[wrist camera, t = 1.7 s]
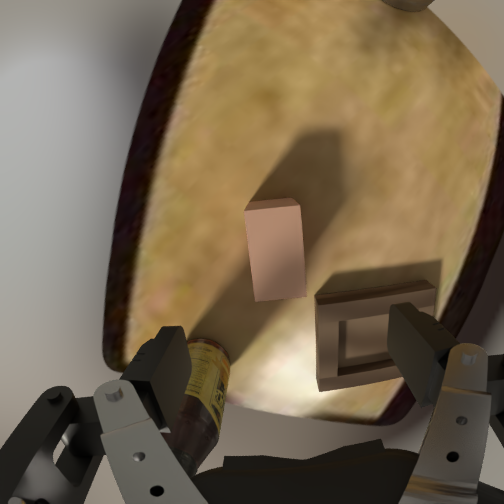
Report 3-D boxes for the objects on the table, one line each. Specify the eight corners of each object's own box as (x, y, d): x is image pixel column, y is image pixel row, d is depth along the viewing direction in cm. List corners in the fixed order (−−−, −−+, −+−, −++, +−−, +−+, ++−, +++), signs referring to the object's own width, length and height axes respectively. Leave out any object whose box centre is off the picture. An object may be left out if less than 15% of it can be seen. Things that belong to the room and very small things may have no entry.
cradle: (314, 295, 30) (318, 305, 28) (425, 279, 29) (436, 287, 27) (316, 378, 33) (319, 391, 30) (415, 360, 32) (422, 371, 30)
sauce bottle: (222, 384, 34) (193, 531, 14) (173, 366, 33) (114, 504, 14) (240, 344, 32) (217, 506, 13) (186, 324, 32) (116, 473, 12)
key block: (249, 201, 28) (243, 211, 21) (291, 197, 28) (300, 205, 21) (257, 272, 30) (255, 301, 23) (297, 268, 30) (306, 296, 23)
